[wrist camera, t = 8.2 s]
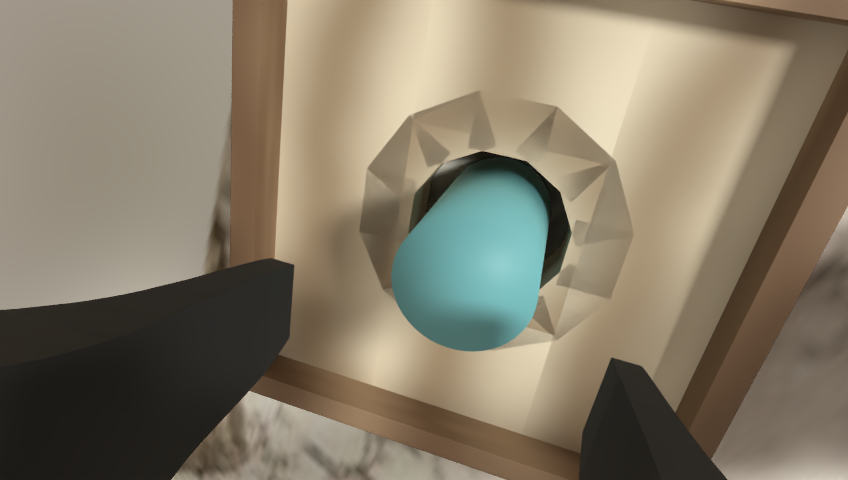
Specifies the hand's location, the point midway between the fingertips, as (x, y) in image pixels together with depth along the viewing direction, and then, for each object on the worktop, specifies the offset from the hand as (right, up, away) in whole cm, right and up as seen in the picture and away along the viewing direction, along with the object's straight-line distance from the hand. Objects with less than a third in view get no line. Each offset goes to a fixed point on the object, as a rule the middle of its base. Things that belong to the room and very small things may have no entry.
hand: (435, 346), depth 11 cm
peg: (+3, +4, +9) cm, 10 cm away
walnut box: (+3, +4, +9) cm, 10 cm away
